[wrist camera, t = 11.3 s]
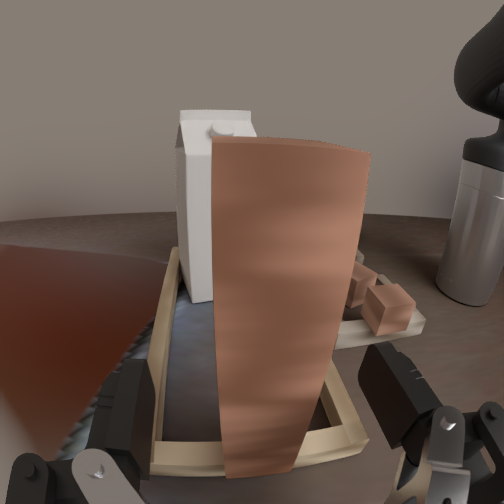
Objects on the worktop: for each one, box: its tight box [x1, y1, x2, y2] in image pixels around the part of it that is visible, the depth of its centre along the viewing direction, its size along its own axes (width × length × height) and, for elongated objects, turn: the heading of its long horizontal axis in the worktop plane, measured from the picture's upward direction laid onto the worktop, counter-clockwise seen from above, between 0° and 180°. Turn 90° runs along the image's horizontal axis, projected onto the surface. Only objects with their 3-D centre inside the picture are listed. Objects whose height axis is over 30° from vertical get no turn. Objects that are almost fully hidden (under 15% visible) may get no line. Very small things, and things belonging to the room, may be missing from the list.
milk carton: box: [175, 110, 257, 303], centre depth 30 cm, size 7×7×19 cm
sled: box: [147, 136, 371, 479], centre depth 22 cm, size 13×30×17 cm, turn 8°
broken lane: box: [334, 249, 426, 350], centre depth 32 cm, size 10×21×5 cm, turn 8°
